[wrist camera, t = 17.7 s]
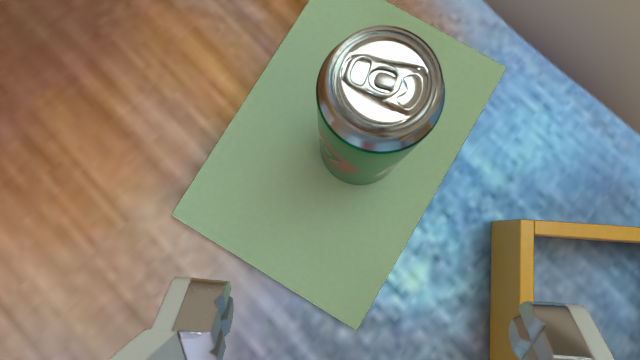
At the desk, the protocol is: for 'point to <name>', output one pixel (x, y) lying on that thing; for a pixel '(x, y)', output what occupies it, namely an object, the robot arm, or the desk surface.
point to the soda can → (376, 102)
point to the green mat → (315, 179)
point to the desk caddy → (529, 267)
